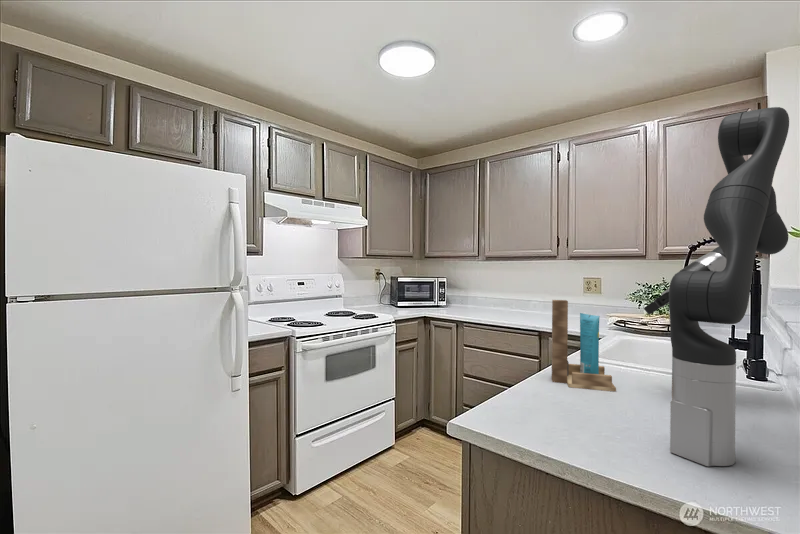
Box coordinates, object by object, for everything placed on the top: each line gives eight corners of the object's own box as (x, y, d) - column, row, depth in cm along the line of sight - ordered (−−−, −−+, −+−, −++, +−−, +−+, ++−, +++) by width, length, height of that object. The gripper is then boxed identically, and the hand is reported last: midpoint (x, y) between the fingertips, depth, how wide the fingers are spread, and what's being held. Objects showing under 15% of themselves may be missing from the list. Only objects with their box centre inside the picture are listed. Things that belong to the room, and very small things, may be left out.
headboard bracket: (607, 379, 121) (607, 300, 121) (615, 391, 109) (616, 303, 109) (550, 375, 125) (551, 298, 125) (553, 385, 114) (554, 301, 114)
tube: (606, 382, 114) (606, 315, 114) (593, 384, 112) (593, 316, 112) (584, 376, 121) (584, 312, 121) (572, 377, 119) (572, 313, 119)
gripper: (682, 270, 111) (633, 302, 111) (705, 252, 98) (649, 289, 98) (704, 291, 108) (653, 324, 108) (731, 275, 95) (673, 314, 95)
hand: (651, 307), depth 103 cm, fingers open, 8 cm apart
